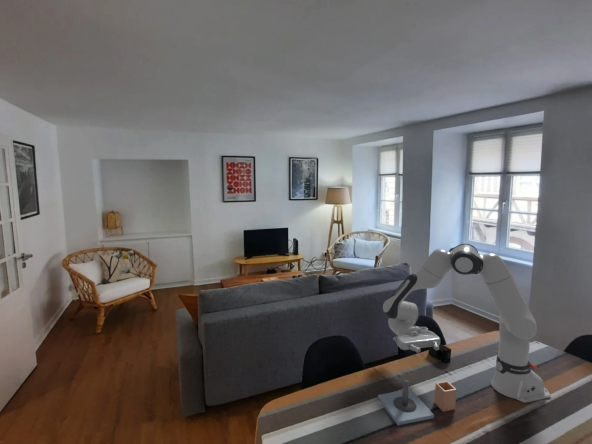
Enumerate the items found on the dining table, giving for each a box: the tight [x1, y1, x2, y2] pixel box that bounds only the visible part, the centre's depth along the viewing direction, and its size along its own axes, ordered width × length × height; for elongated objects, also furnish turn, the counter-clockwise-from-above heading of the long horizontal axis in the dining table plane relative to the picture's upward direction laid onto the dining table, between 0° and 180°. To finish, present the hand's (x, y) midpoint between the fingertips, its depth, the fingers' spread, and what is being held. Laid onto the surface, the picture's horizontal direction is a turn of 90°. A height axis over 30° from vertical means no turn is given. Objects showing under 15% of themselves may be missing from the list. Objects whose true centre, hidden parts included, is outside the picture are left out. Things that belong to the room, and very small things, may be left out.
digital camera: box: [427, 343, 452, 364], centre depth 173 cm, size 10×5×7 cm, turn 29°
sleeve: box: [434, 380, 457, 413], centre depth 137 cm, size 6×6×9 cm
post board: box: [377, 379, 435, 426], centre depth 135 cm, size 16×16×12 cm
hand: (428, 349), depth 146 cm, fingers open, 8 cm apart
